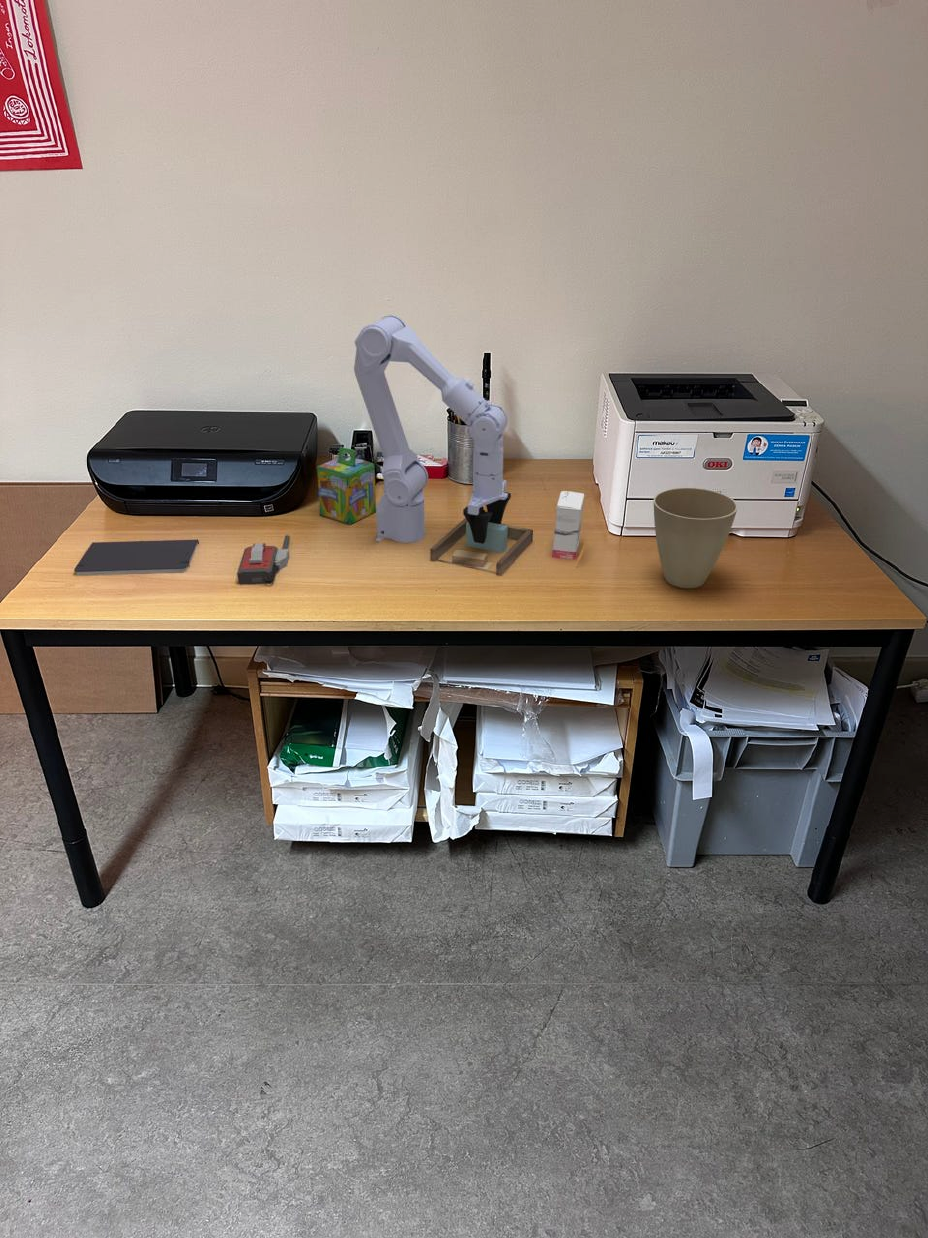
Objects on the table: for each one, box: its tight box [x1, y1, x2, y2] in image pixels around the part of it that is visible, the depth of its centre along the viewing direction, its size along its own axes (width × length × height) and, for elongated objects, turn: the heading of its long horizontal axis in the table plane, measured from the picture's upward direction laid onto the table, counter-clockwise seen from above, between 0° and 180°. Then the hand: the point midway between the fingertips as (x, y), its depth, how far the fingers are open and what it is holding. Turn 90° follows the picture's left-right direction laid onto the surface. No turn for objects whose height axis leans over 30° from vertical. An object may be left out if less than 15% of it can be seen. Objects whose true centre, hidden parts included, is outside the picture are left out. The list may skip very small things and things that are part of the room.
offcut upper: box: [451, 549, 488, 567], centre depth 168 cm, size 6×3×2 cm, turn 74°
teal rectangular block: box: [465, 522, 508, 554], centre depth 173 cm, size 8×2×6 cm, turn 65°
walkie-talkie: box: [236, 534, 291, 586], centre depth 169 cm, size 9×4×20 cm
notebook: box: [73, 539, 200, 576], centre depth 171 cm, size 13×2×21 cm
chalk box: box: [316, 446, 377, 526], centre depth 186 cm, size 9×9×15 cm
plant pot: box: [653, 486, 739, 589], centre depth 160 cm, size 15×15×16 cm
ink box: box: [551, 490, 585, 560], centre depth 171 cm, size 9×5×12 cm, turn 168°
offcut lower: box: [448, 558, 494, 570], centre depth 168 cm, size 8×3×2 cm, turn 65°
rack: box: [429, 517, 534, 577], centre depth 172 cm, size 15×17×4 cm
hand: (487, 534), depth 173 cm, fingers open, 7 cm apart
